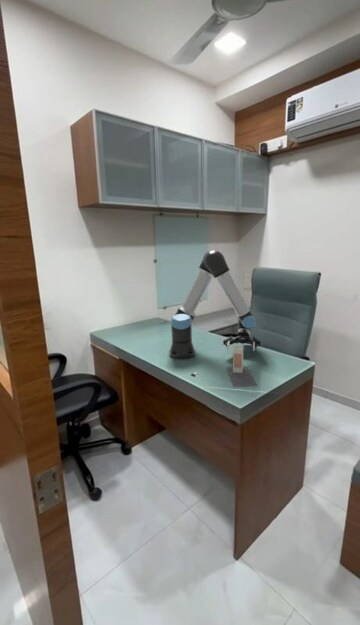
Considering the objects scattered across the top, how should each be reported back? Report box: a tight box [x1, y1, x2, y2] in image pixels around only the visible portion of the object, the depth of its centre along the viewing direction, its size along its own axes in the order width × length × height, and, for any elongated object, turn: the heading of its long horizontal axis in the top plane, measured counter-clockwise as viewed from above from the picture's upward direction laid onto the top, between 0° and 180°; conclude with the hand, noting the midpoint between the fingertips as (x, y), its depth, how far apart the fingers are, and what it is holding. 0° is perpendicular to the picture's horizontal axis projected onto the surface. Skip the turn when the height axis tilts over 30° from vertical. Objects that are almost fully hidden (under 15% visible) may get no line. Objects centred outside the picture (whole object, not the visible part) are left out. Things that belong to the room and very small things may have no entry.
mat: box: [225, 366, 258, 388], centre depth 148 cm, size 22×11×1 cm, turn 0°
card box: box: [232, 345, 244, 373], centre depth 153 cm, size 6×4×12 cm
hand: (240, 347), depth 162 cm, fingers open, 13 cm apart
